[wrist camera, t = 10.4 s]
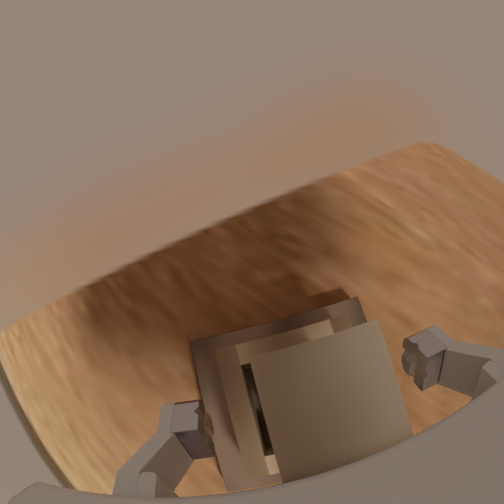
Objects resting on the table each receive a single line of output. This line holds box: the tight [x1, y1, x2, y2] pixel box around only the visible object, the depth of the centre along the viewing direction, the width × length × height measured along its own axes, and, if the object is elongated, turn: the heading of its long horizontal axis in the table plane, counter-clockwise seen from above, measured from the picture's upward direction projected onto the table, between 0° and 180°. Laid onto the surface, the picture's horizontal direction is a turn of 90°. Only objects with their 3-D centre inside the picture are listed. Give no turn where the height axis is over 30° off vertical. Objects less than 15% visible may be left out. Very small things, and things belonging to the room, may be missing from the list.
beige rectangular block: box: [249, 318, 413, 483], centre depth 11 cm, size 4×4×12 cm
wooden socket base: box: [191, 297, 367, 491], centre depth 16 cm, size 12×11×4 cm
